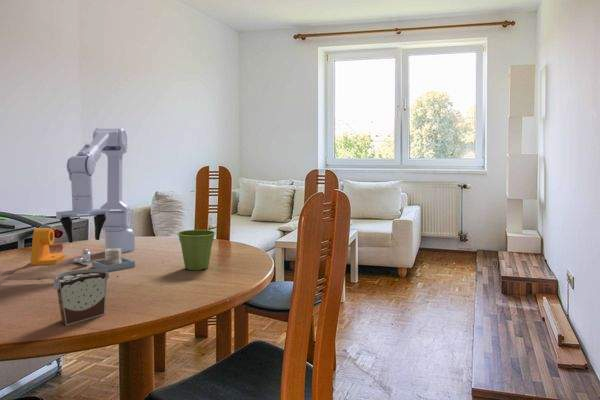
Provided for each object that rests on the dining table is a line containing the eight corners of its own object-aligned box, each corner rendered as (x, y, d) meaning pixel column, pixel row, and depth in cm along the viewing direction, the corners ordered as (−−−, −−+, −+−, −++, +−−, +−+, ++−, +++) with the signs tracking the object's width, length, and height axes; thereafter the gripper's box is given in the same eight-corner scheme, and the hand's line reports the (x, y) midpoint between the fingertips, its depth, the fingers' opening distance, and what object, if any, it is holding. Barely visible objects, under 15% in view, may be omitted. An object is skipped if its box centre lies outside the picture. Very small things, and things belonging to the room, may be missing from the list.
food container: (94, 308, 122) (92, 265, 121) (110, 312, 119) (109, 269, 118) (43, 322, 112) (40, 276, 111) (59, 327, 109) (57, 280, 108)
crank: (71, 261, 166) (70, 246, 166) (81, 260, 168) (80, 245, 168) (83, 266, 160) (83, 250, 159) (93, 264, 162) (92, 249, 161)
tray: (121, 266, 166) (120, 256, 166) (135, 270, 160) (134, 261, 160) (92, 270, 160) (92, 261, 160) (106, 275, 154) (105, 265, 153)
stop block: (105, 270, 158) (104, 251, 157) (108, 267, 161) (107, 248, 161) (119, 270, 158) (118, 250, 158) (121, 267, 162) (121, 248, 162)
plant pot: (183, 274, 156) (182, 236, 154) (173, 266, 166) (172, 231, 165) (221, 269, 161) (221, 233, 160) (209, 262, 171) (209, 228, 170)
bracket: (55, 268, 164) (53, 230, 163) (31, 269, 163) (29, 231, 162) (66, 261, 174) (65, 225, 173) (43, 261, 174) (42, 226, 172)
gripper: (58, 198, 150) (60, 245, 151) (110, 195, 158) (112, 240, 159) (53, 196, 155) (56, 241, 157) (104, 194, 164) (106, 237, 165)
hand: (84, 240), depth 158 cm, fingers open, 7 cm apart
